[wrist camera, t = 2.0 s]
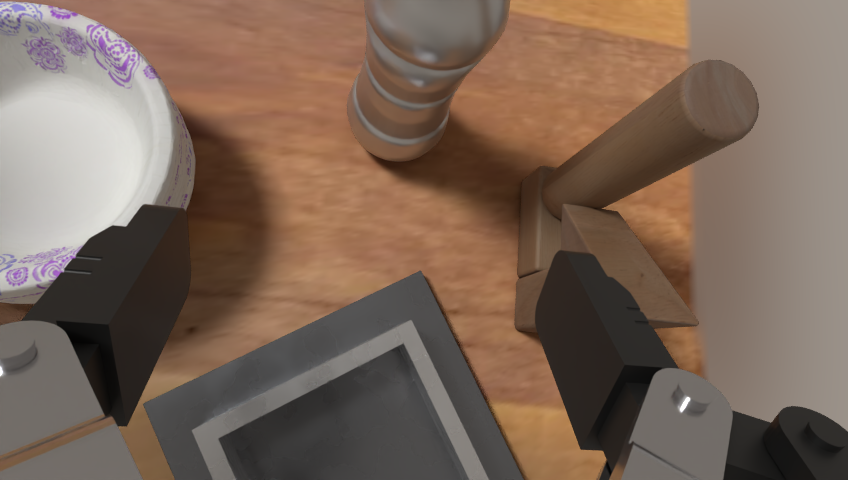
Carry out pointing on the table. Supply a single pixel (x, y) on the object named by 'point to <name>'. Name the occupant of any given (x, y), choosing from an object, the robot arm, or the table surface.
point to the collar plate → (340, 403)
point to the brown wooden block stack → (628, 188)
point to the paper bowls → (77, 141)
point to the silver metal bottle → (417, 69)
